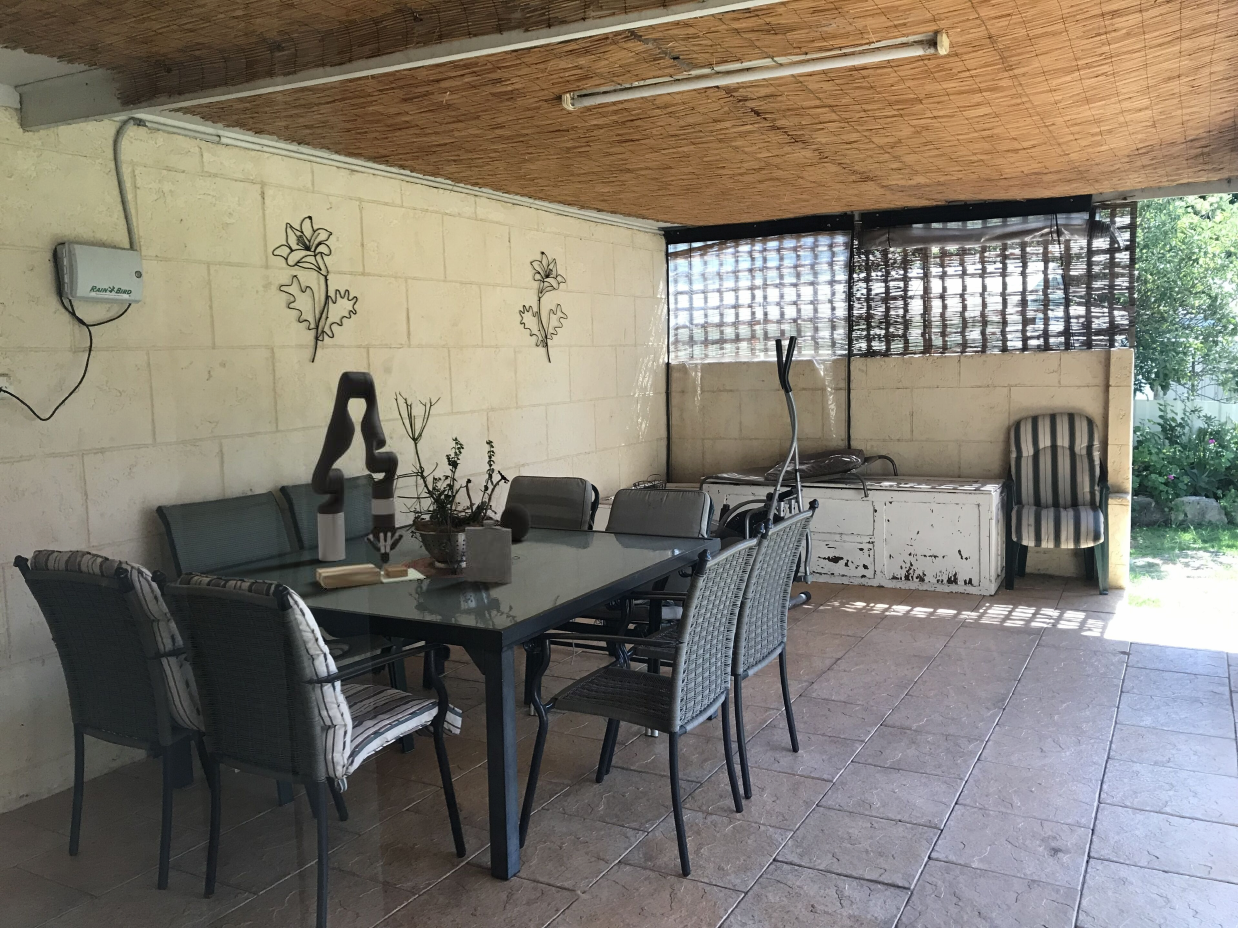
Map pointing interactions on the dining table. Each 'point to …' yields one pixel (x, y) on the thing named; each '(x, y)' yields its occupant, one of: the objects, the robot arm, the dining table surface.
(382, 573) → the sage mat
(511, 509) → the decorative egg
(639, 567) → the dining table surface
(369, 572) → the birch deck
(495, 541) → the hip flask
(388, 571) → the walnut tile
